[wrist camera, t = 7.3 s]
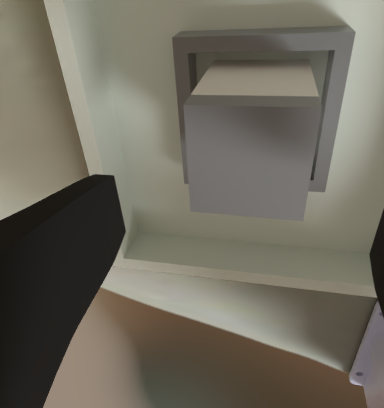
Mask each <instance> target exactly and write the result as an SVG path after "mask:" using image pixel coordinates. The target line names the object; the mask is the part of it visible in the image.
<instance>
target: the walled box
mask: <svg viewBox="0 0 384 408" xmlns="http://www.w3.org/2000/svg"><path fill="white" fill-rule="evenodd" d="M44 4H45V8H46V12H47V15H48V19H49V23H50V27H51V31H52V35H53V38H54V42H55V46H56V50H57V54H58V57H59V61H60V65H61V69H62V73H63V76H64V80H65V84H66V88H67V92H68V95H69V99H70V103H71V107H72V111H73V115H74V118H75V122H76V126H77V130H78V134H79V137H80V141H81V145H82V149H83V153H84V156H85V160H86V164H87V168H88V172H89V176H91V175H94V174H101V175H114V177H115V182H116V187H117V191H118V196H119V201H120V205H121V210H122V215H123V219H124V224H125V229H126V233H125V235H124V238H123V241H122V244H121V246H120V249H119V251H118V254H117V256H116V259H115V261H114V263H113V267H120V268H128V269H137V270H145V271H154V272H162V273H170V274H179V275H187V276H196V277H204V278H213V279H221V280H230V281H238V282H247V283H255V284H264V285H272V286H281V287H289V288H298V289H306V290H315V291H323V292H332V293H340V294H348V295H357V296H365V297H374V298H377V295H376V292H375V288H374V282H373V276H372V270H371V263H370V256H369V253H370V250H371V247H372V244H373V241H374V237H375V234H376V231H377V228H378V225H379V222H380V218H381V215H382V212H383V209H384V0H44ZM279 59H309V62H310V65H311V69H312V73H313V76H314V80H315V84H316V87H317V91H318V94H319V98H320V102H321V105H322V112H321V118H320V124H319V130H318V136H317V142H316V148H315V154H314V160H313V166H312V172H311V178H310V183H309V189H308V195H307V201H306V207H305V213H304V219H303V221H295V220H283V219H272V218H260V217H248V216H236V215H224V214H213V213H201V212H190V197H189V182H188V167H187V152H186V137H185V122H184V107H183V105H184V103H185V102H186V100H187V99H188V97H189V96H190V95H191V93H192V92H193V90H194V89H195V87H196V86H197V84H198V83H199V82H200V80H201V79H202V77H203V76H204V74H205V73H206V71H207V70H208V69H209V67H210V66H211V64H212V63H213V61H214V60H279Z"/></svg>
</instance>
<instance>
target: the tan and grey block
mask: <svg viewBox="0 0 384 408" xmlns="http://www.w3.org/2000/svg"><path fill="white" fill-rule="evenodd" d="M183 107H184V122H185V137H186V152H187V167H188V182H189V197H190V212H201V213H213V214H224V215H236V216H248V217H260V218H272V219H283V220H295V221H303V219H304V213H305V207H306V201H307V195H308V189H309V183H310V178H311V172H312V166H313V160H314V154H315V148H316V142H317V136H318V130H319V124H320V118H321V112H322V105H321V102H320V98H319V94H318V91H317V87H316V84H315V80H314V76H313V73H312V69H311V65H310V62H309V59H279V60H214V61H213V63H212V64H211V66H210V67H209V69H208V70H207V71H206V73H205V74H204V76H203V77H202V79H201V80H200V82H199V83H198V84H197V86H196V87H195V89H194V90H193V92H192V93H191V95H190V96H189V97H188V99H187V100H186V102H185V103H184V105H183Z"/></svg>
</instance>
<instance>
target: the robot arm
mask: <svg viewBox="0 0 384 408" xmlns="http://www.w3.org/2000/svg"><path fill="white" fill-rule="evenodd" d="M125 233H126V229H125V224H124V219H123V215H122V210H121V205H120V201H119V196H118V191H117V187H116V182H115V177H114V175H101V174H94V175H91V176H88V177H86V178H84V179H82V180H80V181H78V182H75V183H73V184H71V185H70V186H68V187H66V188H64V189H62V190H60V191H58V192H56V193H54V194H52V195H50V196H48V197H46V198H45V199H43V200H41V201H39V202H37V203H35V204H33V205H31V206H29V207H27V208H25V209H23V210H21V211H19V212H17V213H15V214H13V215H11V216H9V217H7V218H4V219H2V220H0V408H43V406H44V403H45V401H46V398H47V396H48V393H49V391H50V388H51V386H52V383H53V381H54V378H55V375H56V373H57V371H58V369H59V366H60V364H61V362H62V360H63V357H64V355H65V353H66V350H67V348H68V346H69V344H70V341H71V339H72V337H73V335H74V333H75V331H76V329H77V327H78V325H79V323H80V322H81V320H82V318H83V316H84V315H85V313H86V311H87V309H88V307H89V306H90V304H91V302H92V300H93V299H94V297H95V295H96V293H97V292H98V290H99V288H100V286H101V285H102V283H103V281H104V279H105V277H106V276H107V274H108V272H109V270H110V268H111V267H112V265H113V263H114V261H115V259H116V256H117V254H118V251H119V249H120V246H121V244H122V241H123V238H124V235H125ZM369 256H370V263H371V270H372V276H373V282H374V288H375V292H376V295H377V299H378V301H377V303H376V304H375V307H374V310H373V312H372V315H371V318H370V321H369V323H368V326H367V329H366V331H365V334H364V337H363V339H362V342H361V345H360V347H359V350H358V353H357V355H356V358H355V361H354V364H353V366H352V369H351V372H350V374H349V380H350V382H351V383H353V384H356V385H362V386H364V391H365V396H366V401H367V406H368V408H384V209H383V212H382V215H381V218H380V222H379V225H378V228H377V231H376V234H375V237H374V241H373V244H372V247H371V250H370V253H369Z"/></svg>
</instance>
